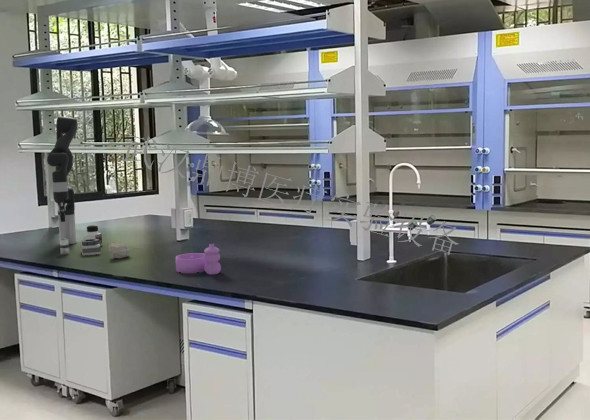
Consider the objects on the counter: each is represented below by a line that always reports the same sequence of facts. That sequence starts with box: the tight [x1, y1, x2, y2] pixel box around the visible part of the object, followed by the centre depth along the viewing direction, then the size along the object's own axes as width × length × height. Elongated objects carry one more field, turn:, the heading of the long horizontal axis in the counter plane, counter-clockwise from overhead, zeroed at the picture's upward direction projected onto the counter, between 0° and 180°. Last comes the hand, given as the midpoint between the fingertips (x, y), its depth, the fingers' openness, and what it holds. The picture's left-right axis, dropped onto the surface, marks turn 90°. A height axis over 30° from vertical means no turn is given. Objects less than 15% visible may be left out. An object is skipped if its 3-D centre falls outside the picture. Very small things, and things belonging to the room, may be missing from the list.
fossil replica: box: [107, 241, 130, 260], centre depth 331 cm, size 12×8×10 cm
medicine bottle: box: [83, 224, 103, 247], centre depth 368 cm, size 7×7×12 cm
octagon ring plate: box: [80, 239, 101, 257], centre depth 346 cm, size 12×9×7 cm
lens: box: [59, 238, 70, 256], centre depth 345 cm, size 5×5×8 cm
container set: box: [175, 243, 222, 275], centre depth 293 cm, size 25×15×13 cm, turn 49°
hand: (62, 220), depth 344 cm, fingers open, 8 cm apart
